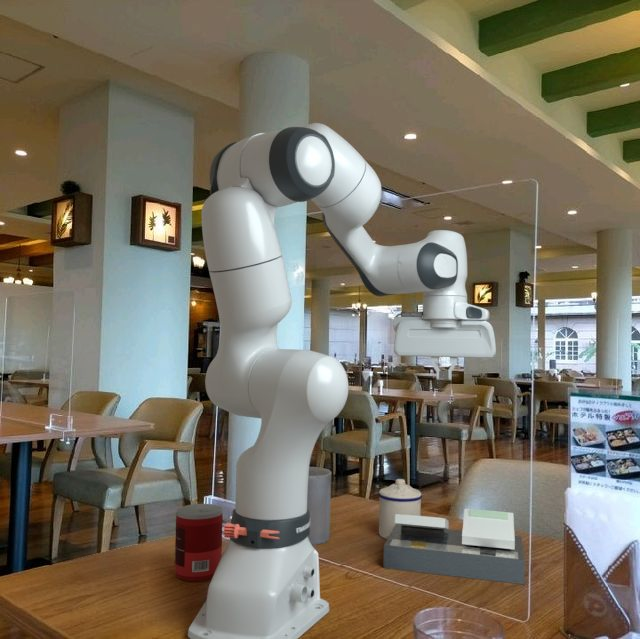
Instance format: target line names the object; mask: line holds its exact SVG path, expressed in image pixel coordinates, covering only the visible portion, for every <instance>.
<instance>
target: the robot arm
mask: <svg viewBox="0 0 640 639" xmlns="http://www.w3.org/2000/svg"><path fill="white" fill-rule="evenodd" d="M209 169H210V170H209V184H210V185H209V186H210V188H209V194H210V195H209V196H208V197H207V198H206V199H205V201H204V202H203V205H202V206H201V231H202V241H203V247H204V253H205V259H206V263H207V268H208V273H209V277H210V281H211V284H212V290H213V293H214V299H215V302H216V307H217V313H218V318H219V342H218V349H217V353H216V355H215V356H214V358H213V359H212V361H211V362H210V363H209V365H208V367H207V371H206V374H205V379H204V383H205V384H204V385H205V391H206V394H207V396H208V399H209V400H210V401H211V403H212V404H213V405H215V406H216V407H218V408H220V409H222V410H224V411H225V412H226V411H227V412H228V413H231V414H233V415H235V416H239V417H246V418H254V419H261V424H260V429H259V432H258V436H257V438H256V440H255V442H254V444H253V445H252V446H250V447H249V448H247V449H246V450H244V451H243V452H242V453H241V454H240V455H239V457H238V458H237V461H236V466H235V468H236V469H235V504H234V505H235V506H234V507H235V508H234V509H233V510H232V514H231V518H230V522H226V523H225V524H224V527H223V530H222V534H223V537H224V538H226V539H227V538H228V539H229V541H227V545H226V547H225V549H224V550H223V553H222V557H221V559H220V562H219V564H218V566H217V568H216V571H215V573H214V575H213V578H212V579H210V583H209V584H208V587H207V588H208V589H207V593H206V594H207V596H206V600H205V602H204V603H203V605H202V607H201V608H200V609H199V611H198V613H197V615H196V616H195V618H194V619H193V620H192V623H191V624H190V625H189V628H188V629H187V637H188V638H189V639H299V638H300V637H301V636H302V635H303V634H305V633H306V632H307V631H308V630H309V629H310V628H312V626H314V625H315V624H316V623H318V622H319V621H320V620H321V619H322V618H323V617H325V616H326V615H327V614H328V613H329V612H330V604H329V601H327V600H325V599H323V598H321V593H320V591H321V590H320V564H319V563H320V561H319V552H318V551H317V550H316V548H314V545H311V543H310V541H309V538H308V536H309V534H310V512H309V510H308V509H307V495H308V475H309V466H310V464H311V458H312V454H313V450H314V448H315V444H316V443H317V440H318V438H319V436H320V434H321V433H322V432H323V430H324V429H325V427H326V426H327V425H328V424H329V423H330V422H332V421H333V420H334V419H335V418H337V416H339V414H340V413H341V411H342V410H343V409H344V407H345V405H346V403H347V400H348V395H349V379H348V378H349V377H348V375H347V372H346V370H345V368H344V365H343V364H342V362H340V361H339V360H338V358H335V357H333V356H330V355H327V354H325V353H321V352H317V351H314V350H310V349H286V348H280V347H279V346H278V343H277V341H278V340H277V331H278V330H277V329H278V325H279V323H280V322H282V320H284V319H285V318H286V316H287V315H288V314H289V312H290V310H291V307H292V302H293V301H292V298H293V297H292V294H291V291H290V285H289V280H288V276H287V271H286V268H285V262H284V258H283V253H282V248H281V245H280V242H279V238H278V234H277V231H276V228H275V219H276V213H277V212H276V211H277V208H282V207H285V206H288V205H292V204H296V203H298V202H299V203H304V202H307V201H310V200H311V201H312V202H313V203H314V205H316V206H317V207H318V209H320V211H321V212H322V214H321V216H322V217H321V218H322V223H323V225H324V227H325V230H326V231H327V232H328V234H329V236H331V238H332V240H333V241H334V243H336V245H337V246H338V248H340V250H341V252H343V254H344V255H345V256H346V257H347V259H348V260H349V261H350V263H351V264H352V265H353V267H354V269H356V271H357V273H358V275H359V278H360V279H361V282H362V284H363V286H364V287H365V289H367V290H368V291H369V293H371V294H373V295H374V296H376V297H386V296H393V295H401V294H416V293H422V310H421V311H401V312H400V313H397V314H396V315H395V316H394V318H393V330H394V332H395V335H394V343H393V352H394V354H395V355H396V356H398V357H423V358H424V357H427V358H429V357H430V363H431V365H432V366H433V368H434V370H435V371H436V373H435V374H436V377H435V378H436V381H452V380H453V377H452V376H453V374H452V373H453V371H454V369H455V367H456V365H457V364H458V358H470V359H471V358H475V359H477V358H478V359H480V358H481V359H493V358H495V356H496V355H497V345H496V343H497V342H496V337H495V336H496V335H495V332H494V328H493V326H492V324H491V323H490V322H489V321H488V320H490V315H491V314H490V311H489V309H486V308H483V307H481V306H477V305H476V304H470V303H468V294H467V290H466V282H467V278H468V252H467V247H466V242H465V238H464V236H463V235H462V234H461V233H459V232H457V231H455V230H448V229H435V230H434V229H433V230H432V231H429V232H428V233H427V235H426V237H425V238H424V239H422V240H420V241H419V240H418V241H416V242H412V243H406V244H400V245H399V244H398V245H397V244H396V245H380V244H378V243H375V241H374V239H372V237H371V236H370V235H369V233H368V232H367V230H366V229H365V228H364V225H366V224H367V223H368V222H369V220H370V219H371V218H372V217H373V216H374V215H375V212H376V211H377V210H378V208H379V205H380V202H381V199H382V184H381V183H382V182H381V181H380V178H379V176H378V175H377V173H376V171H375V170H374V169H373V167H371V165H370V164H369V163H368V162H367V160H365V158H364V157H363V156H362V155H361V154H360V153H359V152H358V150H356V149H355V148H354V146H353V145H352V144H350V143H349V142H348V141H347V139H345V138H343V136H341V135H340V134H339V133H337V131H335V130H333V129H332V128H331V127H330V126H329V125H328V126H327V125H326V124H324V123H321V122H320V123H319V122H312V123H307V124H306V125H303V126H290V127H286V128H283V129H281V130H276V131H275V130H274V131H269V132H261V133H256V134H253V135H251V136H248V137H246V138H243V139H241V140H239V141H234V142H231V143H230V144H228V145H226V146H225V147H223V148H221V149H220V150H219V151H218V152H217V154H216V155H215V156H214V157H213V159H212V162H211V165H210V168H209ZM440 358H449V363H450V364H451V365H450V367H449V368H448V370H441V369H440V367H439V366H438V363H440Z"/></svg>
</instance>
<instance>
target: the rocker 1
mask: <svg viewBox="0 0 640 639" xmlns="http://www.w3.org/2000/svg"><path fill="white" fill-rule="evenodd" d="M395 523H397V524H401V525H410V526H420V527H431V528H441V529H450V528H449V527H450V525H449V524H450V521H449V520H448V519H447V518H445V517H444V518H443V517H439V516H438V517H436V516H427V515H426V516H425V515H421V516H416V515H401V514H396V515H395Z"/></svg>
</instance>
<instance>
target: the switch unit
mask: <svg viewBox="0 0 640 639" xmlns="http://www.w3.org/2000/svg"><path fill="white" fill-rule="evenodd" d="M462 530H463V529H462ZM462 530H460V529H451V528H449V529H441V528H431V527H420V526H410V525H401V524H396V525H395V526H394V528H393V530H392V532H391V534H390V535H389V537H388V539H386V541H385V542H384V544H383V569H389V570H397V571H398V570H399V571H407V572H415V573H425V574H432V575H440V576H450V577H458V578H467V579H474V580H476V579H477V580H485V581H493V582H499V583H507V584H508V583H512V584H517V585H518V584H519V585H525V567H526V566H525V553H524V548H523V547H524V545H523V539H522V535H515V550H514V549H505V548H495V547H485V546H476V545H466V544H462Z"/></svg>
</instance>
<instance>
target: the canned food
mask: <svg viewBox="0 0 640 639" xmlns="http://www.w3.org/2000/svg"><path fill="white" fill-rule="evenodd" d="M223 513H224V512H223V508H222V506H219V505H218V504H217V505H216V504H212V503H193V504H187V505H184V506H180V507H179V508H177V509H176V513H175V544H174V546H175V549H174V551H175V552H174V573H175V576H176V577H177V579H179V580H181V581H184V582H191V583H192V582H195V583H197V582H204V581H208V580H212V578H213V575H214V573H215V571H216V568H217V566H218V564H219V562H220V559H221V557H222V555H223V553H222V552H223V549H222V548H223V522H224V521H223V519H224V518H223Z"/></svg>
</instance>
